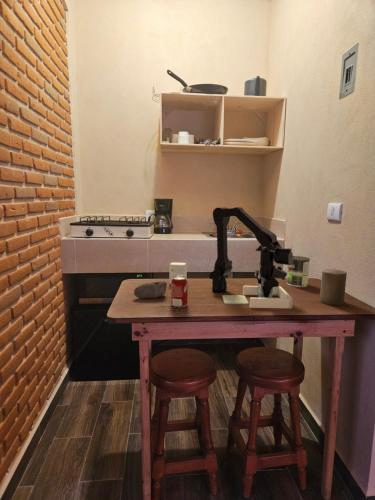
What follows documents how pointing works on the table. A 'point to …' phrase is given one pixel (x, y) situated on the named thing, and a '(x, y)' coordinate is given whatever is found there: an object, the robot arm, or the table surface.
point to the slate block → (260, 292)
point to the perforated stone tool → (151, 290)
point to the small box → (177, 270)
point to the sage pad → (234, 299)
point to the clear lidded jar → (298, 272)
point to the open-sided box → (281, 302)
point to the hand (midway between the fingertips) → (264, 297)
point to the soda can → (179, 291)
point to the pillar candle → (333, 286)
